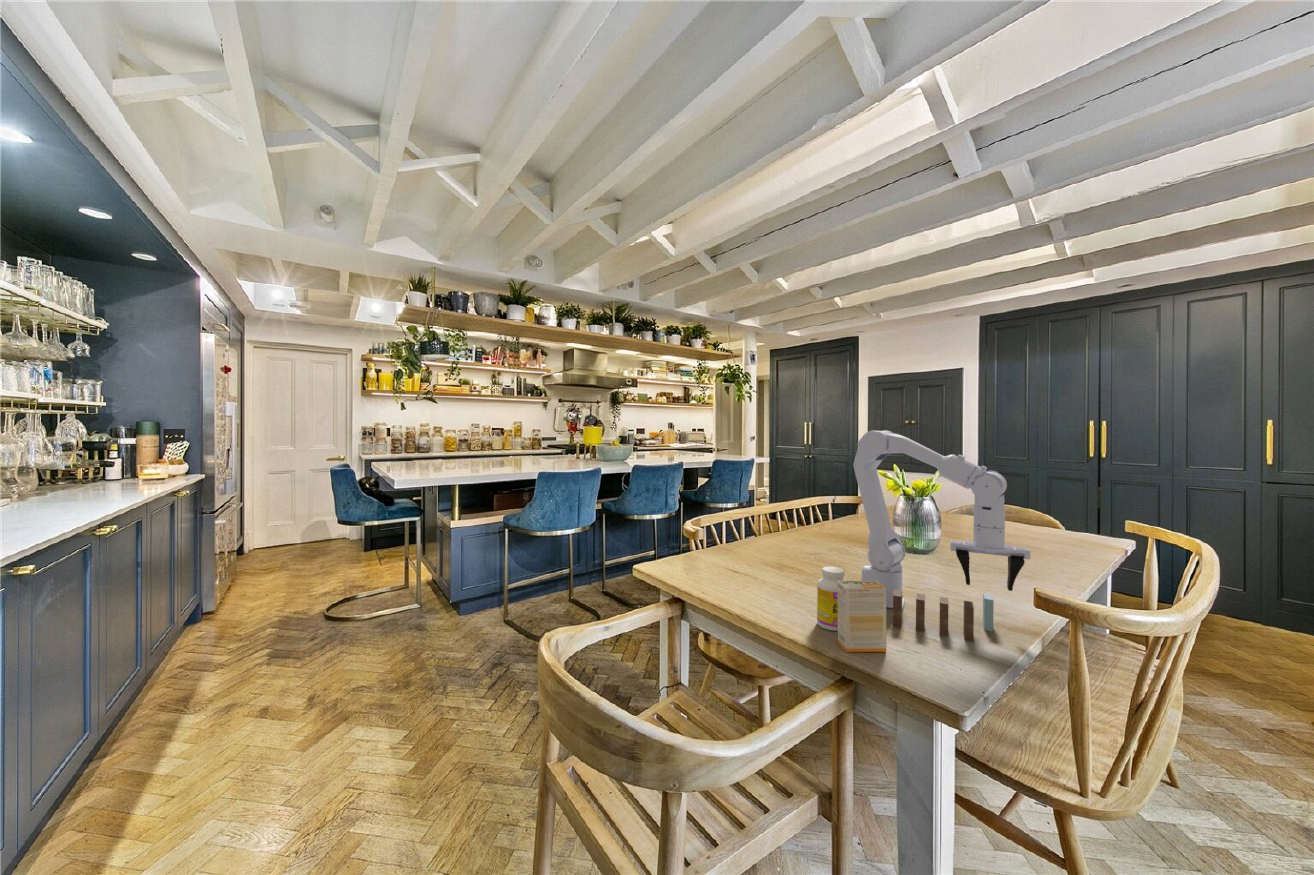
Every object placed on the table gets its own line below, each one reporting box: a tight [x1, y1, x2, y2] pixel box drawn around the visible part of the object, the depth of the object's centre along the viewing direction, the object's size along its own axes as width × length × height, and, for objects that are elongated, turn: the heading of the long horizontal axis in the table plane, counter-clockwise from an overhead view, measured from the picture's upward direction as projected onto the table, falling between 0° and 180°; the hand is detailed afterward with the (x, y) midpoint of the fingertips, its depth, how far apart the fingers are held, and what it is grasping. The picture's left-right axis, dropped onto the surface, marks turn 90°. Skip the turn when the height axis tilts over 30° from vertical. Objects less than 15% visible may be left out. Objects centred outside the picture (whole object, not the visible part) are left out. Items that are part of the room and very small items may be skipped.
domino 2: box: [915, 592, 926, 633], centre depth 105 cm, size 2×4×7 cm, turn 149°
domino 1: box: [892, 590, 903, 629], centre depth 108 cm, size 2×4×7 cm, turn 149°
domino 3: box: [938, 596, 949, 638], centre depth 103 cm, size 2×4×7 cm, turn 149°
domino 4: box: [962, 600, 975, 642], centre depth 101 cm, size 2×4×7 cm, turn 149°
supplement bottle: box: [816, 566, 845, 632], centre depth 106 cm, size 7×7×13 cm
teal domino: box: [982, 592, 995, 633], centre depth 106 cm, size 2×4×7 cm, turn 149°
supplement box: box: [837, 580, 887, 653], centre depth 96 cm, size 8×5×13 cm, turn 90°
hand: (988, 586), depth 106 cm, fingers open, 7 cm apart
